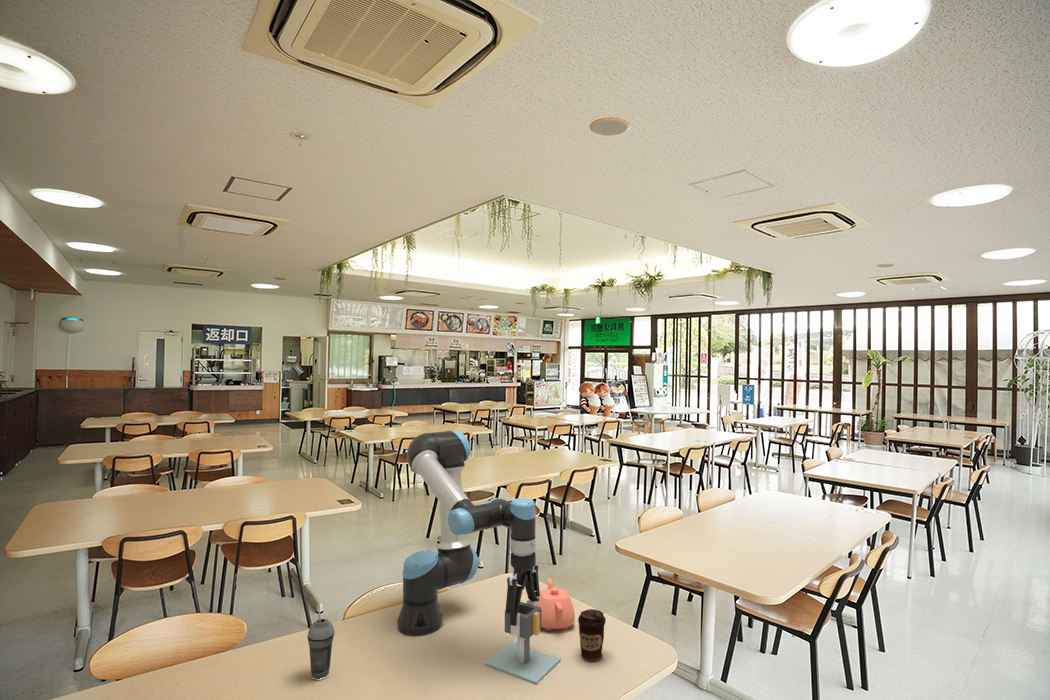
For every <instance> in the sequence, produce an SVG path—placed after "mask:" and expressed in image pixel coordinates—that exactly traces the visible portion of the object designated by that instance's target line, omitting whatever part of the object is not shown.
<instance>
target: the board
mask: <svg viewBox="0 0 1050 700" xmlns="http://www.w3.org/2000/svg"><path fill="white" fill-rule="evenodd" d="M530 638H531V637H530ZM530 638H529V639H525V638H522V637H517V643H516V642H513V641H510V642H509V643H508V644H506V645H505V646H504V647H502V648H501V649H500V650H499V651H497V652H496V653H495V654H494V655H492V656H491V657H490V658H489V659H487V660H486V661H484V665H485V666H487V667H490V668H492V669H495V670H497V671H501V672H503V673H506V674H508V675H511V676H513V677H515V678H517V679H520V680H523V681H526V682H528V683H531V684H534V685H538V684H539V683H540V682H541V681H542V680H543V679H544V678H545V676H547V675H548V674H549V673H550V672H551V671H552V670H553V669H554V668H555V667H556V666H557V665H558V664H559V663H560V662H561V661H562V660H561V658H559V657H556V656H553V655H552V654H551V655H550V654H547V653H544V652H542V651H540V650H536V649H534V648H531V647H530V644H531V641H530V640H531V639H530Z"/></svg>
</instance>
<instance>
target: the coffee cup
mask: <svg viewBox="0 0 1050 700" xmlns="http://www.w3.org/2000/svg"><path fill="white" fill-rule="evenodd" d="M577 620H578V621H577V622H578V631H579V632H578V633H579V645H580V646H579V647H580V654H581V658H582V659H583V660H585V661H587V662H591V663H592V662H593V663H594V662H599V661H601V660H603V652H602V651H603V645H604V641H605V640H604V638H605V624H606V617H605V616H604V612H603V611H601V610H599V609H594V608H592V609H591V608H590V609H585V610H583V611H581V612H580V614H579V615H578V619H577Z"/></svg>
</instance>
